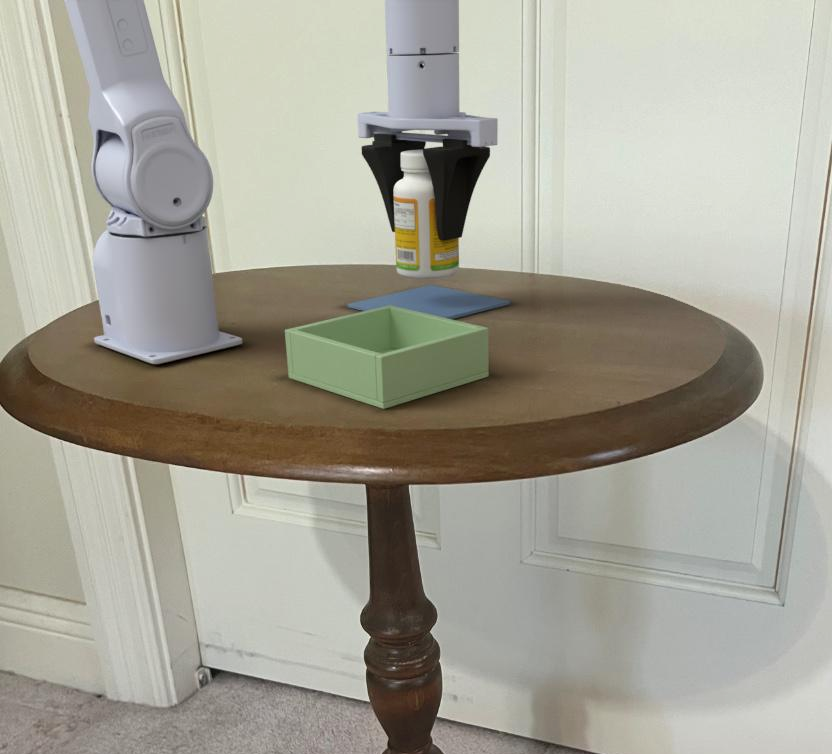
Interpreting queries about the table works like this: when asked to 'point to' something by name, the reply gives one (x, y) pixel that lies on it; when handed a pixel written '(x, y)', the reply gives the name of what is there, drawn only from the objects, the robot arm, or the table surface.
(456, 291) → the mat
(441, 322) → the bin
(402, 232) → the supplement bottle
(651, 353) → the table surface
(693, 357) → the table surface
